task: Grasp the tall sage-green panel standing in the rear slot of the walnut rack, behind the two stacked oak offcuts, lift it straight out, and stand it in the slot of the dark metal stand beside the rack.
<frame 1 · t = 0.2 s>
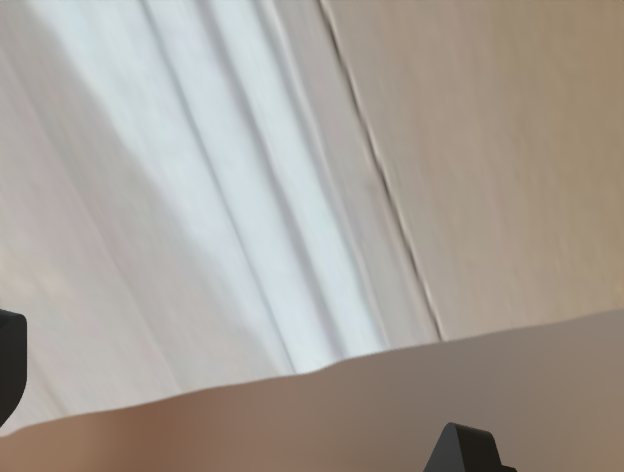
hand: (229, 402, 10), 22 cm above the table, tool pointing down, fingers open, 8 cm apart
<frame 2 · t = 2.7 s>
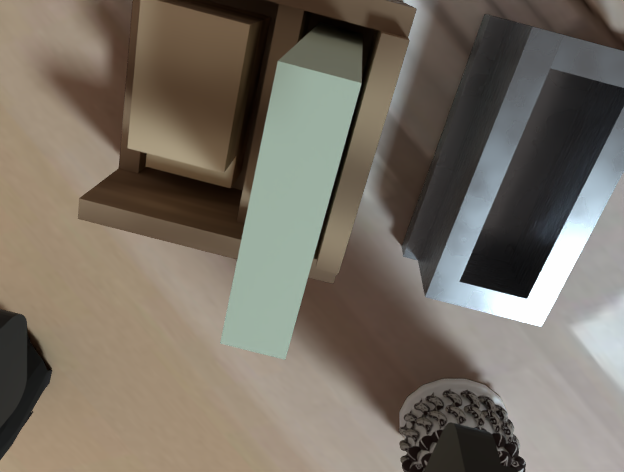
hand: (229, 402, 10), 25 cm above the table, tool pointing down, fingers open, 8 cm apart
portable speaker: (9, 355, 44), on the table
decorative candle: (452, 417, 42), on the table
offcut lower: (213, 88, 31), point 1 cm above the table, touching offcut upper, rack
offcut upper: (202, 79, 28), point 4 cm above the table, touching offcut lower
stand: (509, 160, 33), on the table
rack: (258, 94, 33), on the table
panel: (319, 116, 31), point 1 cm above the table, touching rack
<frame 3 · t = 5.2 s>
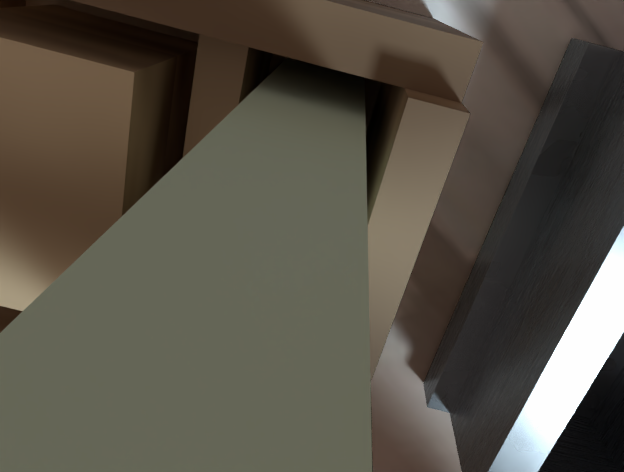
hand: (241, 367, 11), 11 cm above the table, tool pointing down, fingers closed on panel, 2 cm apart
offcut lower: (119, 159, 19), point 1 cm above the table, touching offcut upper, rack
offcut upper: (80, 157, 16), point 4 cm above the table, touching offcut lower
stand: (597, 266, 21), on the table
rack: (197, 163, 20), on the table
panel: (294, 204, 19), point 2 cm above the table, touching gripper, rack
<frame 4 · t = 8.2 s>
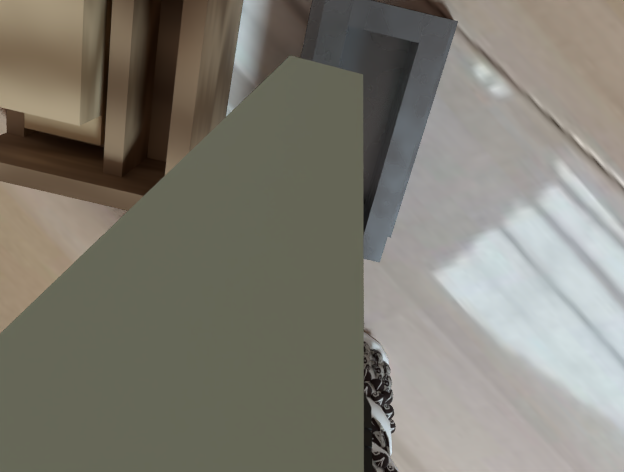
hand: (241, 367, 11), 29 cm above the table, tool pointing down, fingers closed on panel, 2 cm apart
decorative candle: (340, 365, 46), on the table
offcut lower: (86, 59, 35), point 1 cm above the table, touching offcut upper, rack
offcut upper: (64, 47, 32), point 4 cm above the table, touching offcut lower
stand: (356, 118, 37), on the table
rack: (130, 64, 37), on the table
panel: (292, 205, 19), point 19 cm above the table, touching gripper
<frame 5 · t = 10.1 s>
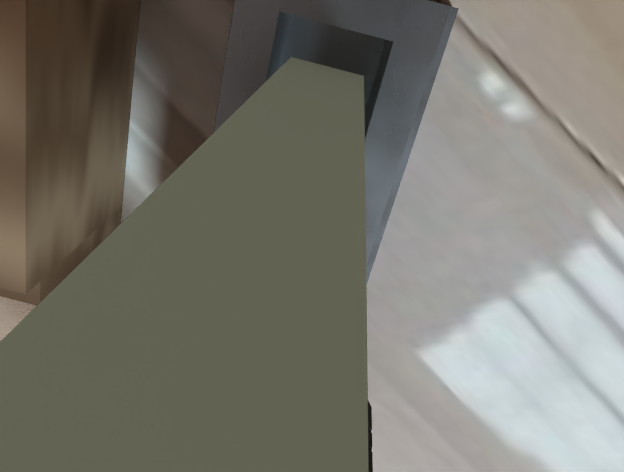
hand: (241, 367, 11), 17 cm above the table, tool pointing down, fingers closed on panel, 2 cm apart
stand: (311, 145, 26), on the table
panel: (293, 206, 19), point 8 cm above the table, touching gripper
when the fingers open (12 cm above the table, at t = 11.7 s): panel drops 1 cm, resting on stand.
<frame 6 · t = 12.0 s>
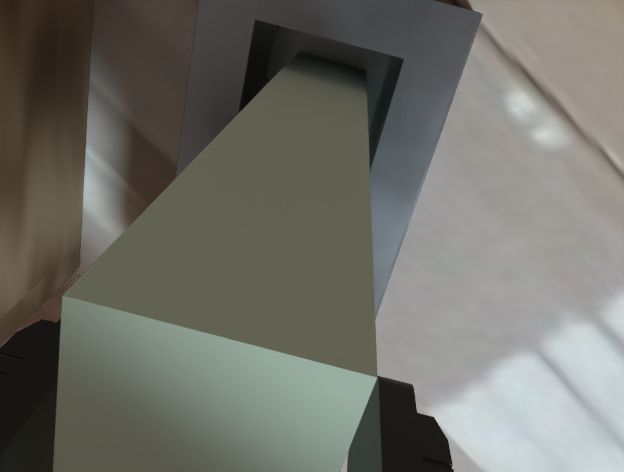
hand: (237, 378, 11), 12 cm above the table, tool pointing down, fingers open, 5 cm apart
stand: (301, 176, 22), on the table
panel: (298, 191, 21), point 1 cm above the table, touching stand
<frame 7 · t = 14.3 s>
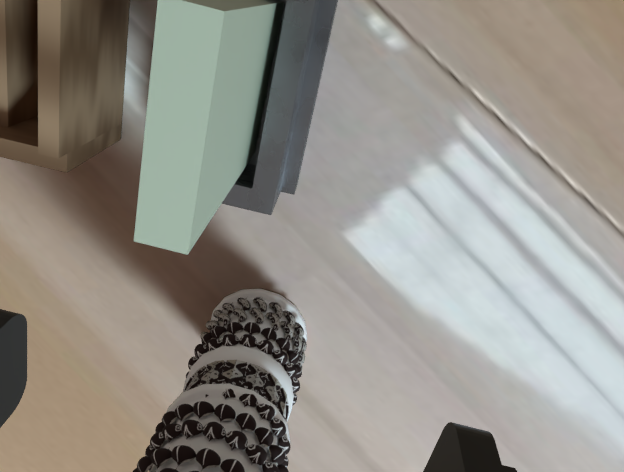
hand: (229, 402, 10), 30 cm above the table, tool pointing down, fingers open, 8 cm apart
decorative candle: (259, 329, 46), on the table
stand: (254, 72, 37), on the table
rack: (27, 17, 36), on the table
panel: (251, 77, 35), point 1 cm above the table, touching stand
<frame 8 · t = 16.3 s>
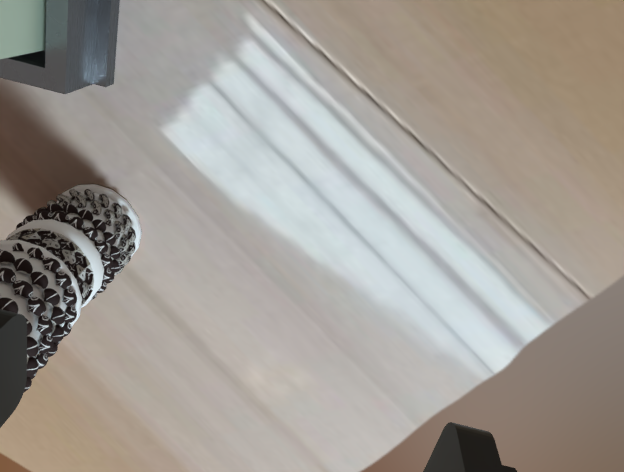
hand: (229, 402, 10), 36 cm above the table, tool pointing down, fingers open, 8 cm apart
decorative candle: (99, 224, 50), on the table
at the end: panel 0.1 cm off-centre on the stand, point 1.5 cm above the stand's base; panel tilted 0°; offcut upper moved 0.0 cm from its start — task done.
